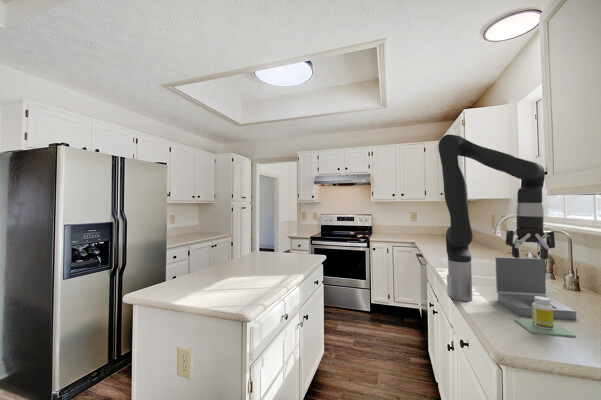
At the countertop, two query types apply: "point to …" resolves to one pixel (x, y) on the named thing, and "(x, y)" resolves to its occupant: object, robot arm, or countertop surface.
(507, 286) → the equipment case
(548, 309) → the supplement bottle
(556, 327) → the mat
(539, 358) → the countertop surface
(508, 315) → the countertop surface
